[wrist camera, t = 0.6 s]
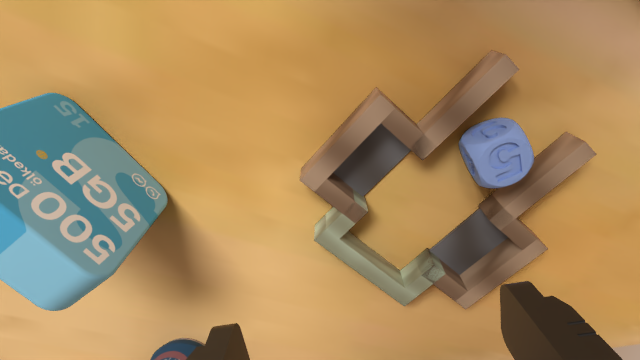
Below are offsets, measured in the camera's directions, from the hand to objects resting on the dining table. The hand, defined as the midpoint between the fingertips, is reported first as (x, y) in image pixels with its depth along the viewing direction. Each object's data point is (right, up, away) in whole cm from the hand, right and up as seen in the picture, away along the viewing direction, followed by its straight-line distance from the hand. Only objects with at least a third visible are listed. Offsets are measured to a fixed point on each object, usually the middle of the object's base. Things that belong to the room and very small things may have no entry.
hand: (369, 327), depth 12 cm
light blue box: (-20, +6, +21) cm, 29 cm away
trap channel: (+9, +4, +21) cm, 23 cm away
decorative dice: (+12, +7, +20) cm, 24 cm away
